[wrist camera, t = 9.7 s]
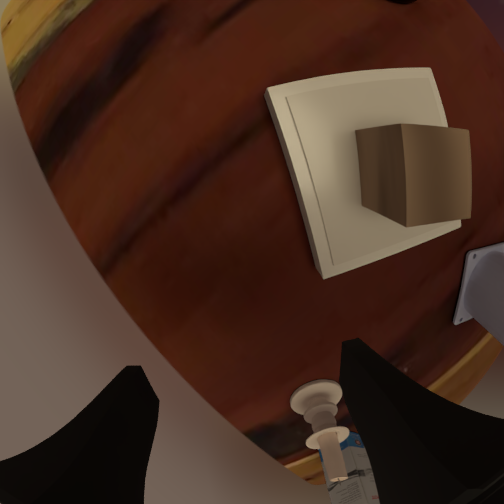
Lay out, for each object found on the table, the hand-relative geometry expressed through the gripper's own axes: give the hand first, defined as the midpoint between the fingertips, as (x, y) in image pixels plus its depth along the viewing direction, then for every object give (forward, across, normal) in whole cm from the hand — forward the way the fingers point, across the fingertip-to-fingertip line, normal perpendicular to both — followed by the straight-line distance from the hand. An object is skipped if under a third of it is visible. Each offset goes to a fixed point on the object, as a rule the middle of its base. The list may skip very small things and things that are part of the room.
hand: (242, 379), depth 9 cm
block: (+8, -10, -6) cm, 14 cm away
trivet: (+10, -10, -6) cm, 16 cm away
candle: (+11, -5, +15) cm, 19 cm away
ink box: (+11, -10, +28) cm, 32 cm away
